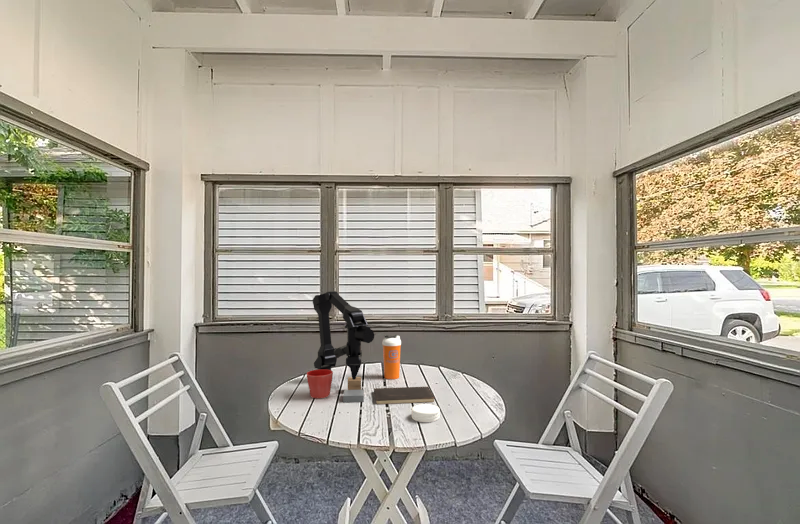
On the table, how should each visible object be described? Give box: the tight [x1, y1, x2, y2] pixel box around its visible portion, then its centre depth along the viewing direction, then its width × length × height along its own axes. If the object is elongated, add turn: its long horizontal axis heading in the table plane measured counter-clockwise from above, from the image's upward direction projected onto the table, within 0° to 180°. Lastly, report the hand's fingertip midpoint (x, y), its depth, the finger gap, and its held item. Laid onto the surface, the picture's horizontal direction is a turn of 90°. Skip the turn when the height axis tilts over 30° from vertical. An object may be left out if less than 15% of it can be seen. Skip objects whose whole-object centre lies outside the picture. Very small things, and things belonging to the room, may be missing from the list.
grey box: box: [342, 389, 365, 403], centre depth 180 cm, size 8×8×2 cm
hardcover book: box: [373, 386, 436, 405], centre depth 182 cm, size 16×23×2 cm
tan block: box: [347, 376, 362, 390], centre depth 190 cm, size 6×6×6 cm
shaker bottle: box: [381, 333, 402, 380], centre depth 212 cm, size 9×9×20 cm
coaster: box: [411, 403, 441, 423], centre depth 159 cm, size 10×10×4 cm
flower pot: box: [306, 369, 334, 400], centre depth 184 cm, size 11×11×10 cm
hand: (354, 376), depth 190 cm, fingers open, 9 cm apart
